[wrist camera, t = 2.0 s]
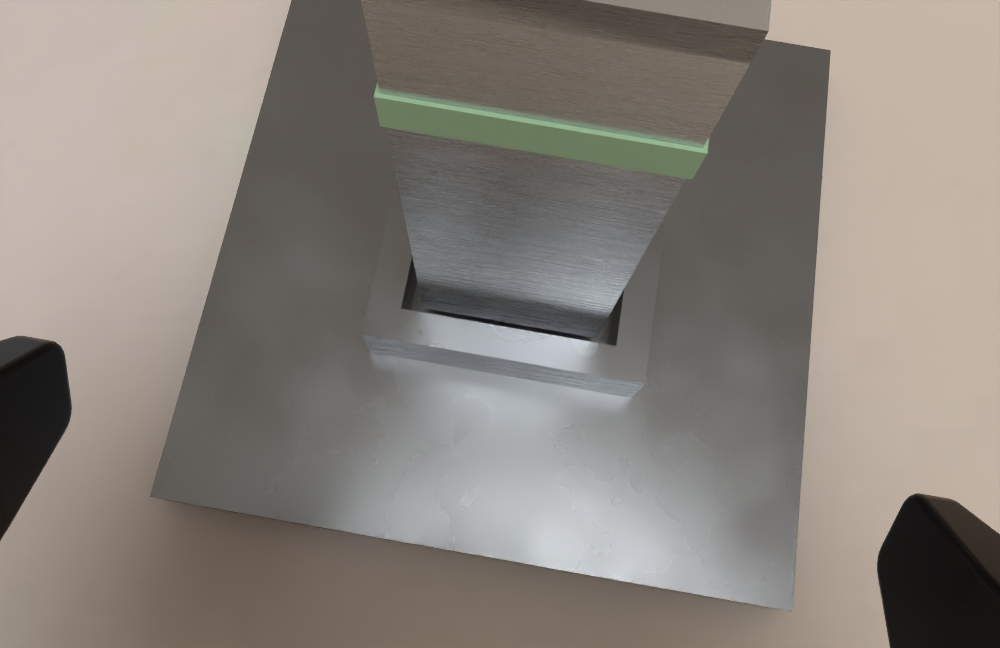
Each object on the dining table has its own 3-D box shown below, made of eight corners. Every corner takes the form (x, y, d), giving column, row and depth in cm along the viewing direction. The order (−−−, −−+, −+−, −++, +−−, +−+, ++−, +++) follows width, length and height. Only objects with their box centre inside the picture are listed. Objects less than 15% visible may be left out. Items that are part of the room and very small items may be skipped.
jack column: (598, 341, 21) (774, 37, 9) (419, 310, 21) (345, -35, 9) (622, 177, 22) (803, -287, 10) (452, 149, 22) (429, -348, 10)
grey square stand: (777, 609, 21) (2450, 885, 3) (164, 499, 21) (-1408, 199, 3) (817, 69, 25) (1616, -1067, 8) (309, -16, 26) (-61, -1308, 8)
